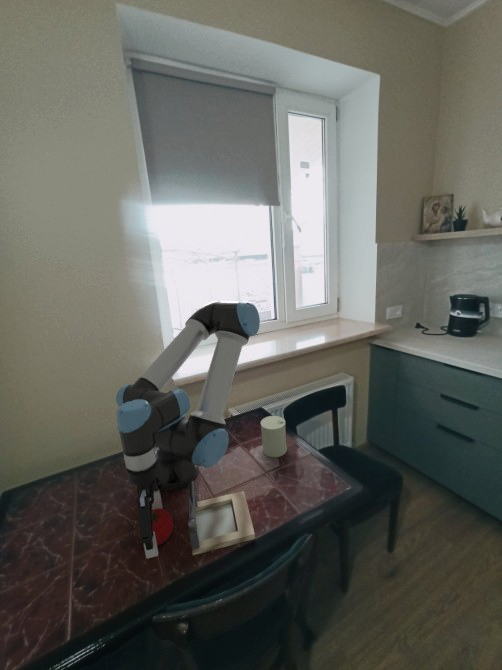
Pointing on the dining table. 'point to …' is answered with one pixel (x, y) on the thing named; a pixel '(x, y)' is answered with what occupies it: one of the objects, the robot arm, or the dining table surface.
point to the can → (273, 436)
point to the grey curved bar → (193, 516)
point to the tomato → (161, 525)
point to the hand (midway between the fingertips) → (155, 531)
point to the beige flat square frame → (223, 522)
